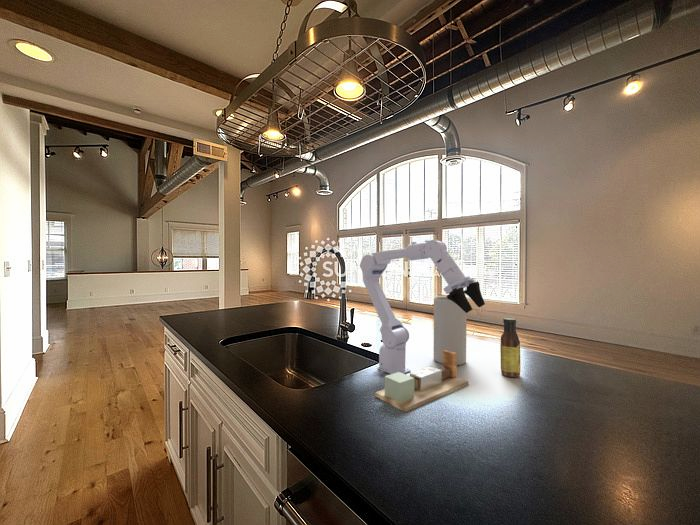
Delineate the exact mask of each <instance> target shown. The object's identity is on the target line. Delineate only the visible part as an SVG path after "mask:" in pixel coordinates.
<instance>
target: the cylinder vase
mask: <svg viewBox="0 0 700 525" xmlns="http://www.w3.org/2000/svg"><path fill="white" fill-rule="evenodd" d="M444 350H449V351H452V352H456V353H457V366H463V365H464V364H465V363H466V362H467V313H466V312H465V311H463V310H462V309H461V308H460V307H459V306H458V305H457V304H456V303H454V302H453V301H451V300H449V299H448V298H447V297H446V296H437V297H433V360H434V361H435V362H437V363H439V364H442V365H443V351H444Z"/></svg>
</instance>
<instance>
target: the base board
mask: <svg viewBox="0 0 700 525" xmlns="http://www.w3.org/2000/svg"><path fill="white" fill-rule="evenodd" d="M467 386H469V381H468V380H466V379H463V378H461V377H454V378H452V377H449V376H448V377H445V378H443V379H442V384H441V385H438V386H436V387H433V388H430V389H428V390H425V391H423V392H420V391H417V390H415V389H414V397H412V398H410V399H407V400H405V401H402V402H398V401H396V400H394V399H392V398H390V397H388V396H386V395H385V388H383V389H381V390H377V391H375V392H374V397H375V396H376V397H375V398H377V397H378V398H377V399H379V398H380V399H379V400H381V401H383V402H385V403H387V404H389V405H390V406H393V407H395V408H396V409H399V410H400V411H402V412H404V413H407V412H409V411H412V410H414V409H417V408H418V407H421V406H423V405H426V404H428V403H431V402H433V401H435V400H438V399H439V398H441V397H443V396H446V395H449V394H450V393H454V392H455V391H457V390H460V389H462V388H465V387H467Z"/></svg>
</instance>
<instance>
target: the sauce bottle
mask: <svg viewBox="0 0 700 525" xmlns="http://www.w3.org/2000/svg"><path fill="white" fill-rule="evenodd" d="M516 326H517V319H516V318H512V317H504V318H503V333H502V334H501V335H500V344H499V345H500V346H499V347H500V350H499V352H500V372H501V375H503V376H504V377H508V378H518V377H520V376H521V341H520V337H519V336H518V332H517V327H516Z"/></svg>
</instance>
